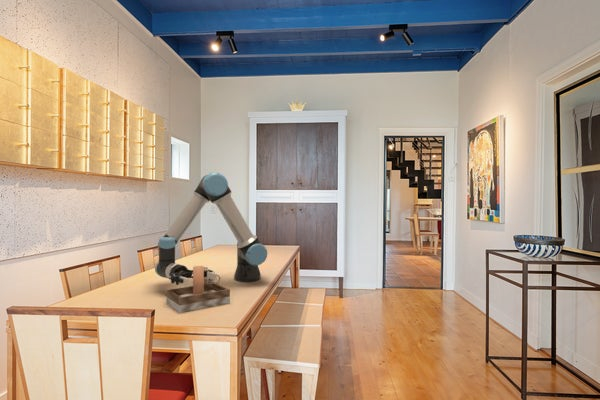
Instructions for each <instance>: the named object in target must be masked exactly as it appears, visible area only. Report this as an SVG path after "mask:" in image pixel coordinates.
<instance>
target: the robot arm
mask: <svg viewBox="0 0 600 400" xmlns="http://www.w3.org/2000/svg"><path fill="white" fill-rule="evenodd" d="M207 203H211V204H214V205H216V207H217V209H218V210H219V212H220V213H221V216H222V217H223V219H224V221H225V222H226V224H227V226H228V228H229V229H230V231H231V232H232V234H233V235H234V238H235V239H236V241H237V243H236V254H237V255H236V256H237V257H236V260H237V261H236V262H237V263H236V269H235V272H234V274H233V279H234V281H237V282H246V283H247V282H255V281H259V280H261V278H262V274H261V271H260V268H259V266H260V265H262V264H263V263H264V262H266V260H267V257H268V250H267V247H265V245H264V244H262V242H261V240H260V239H259V237H258V235H254V234H253V232H252V230H251V229H250V227H249V225H248V224H247V222H246V220H245V219H244V216H243V215H242V214H241V213H242V212H241V211H240V210H239V208H238V207H237V205H236V203H235V201H234V199H233V198H232V190H231V187H229V183H228V179H227V178H226V176H225V175H224V174H222V173H220V172H209V173H208V174H206V175H204V176H203V177H202V178H201V180H200V181H199V183H198V184H197V187H195V190H194V191H193V195H192V197H191V198H190V200H189V201H188V202H187V204H186V205H185V207H183V209H182V211H181V212H180V214H179V215H178V216H177V218H176V219H175V220H174V221H173V223H172V224H171V226H170V227H169V229H168V230H167V231H166V233H165V234H164V236H163V237H160V238H159V239H158V243H157V250H158V262H157V263H156V265H155V267H154V271H155V273H156V275H158V276H159V277H162V278H165V279H169V280H170V284H171V285H172V284H175V285H176V286H178V285H179V284H182V285H184V286H186V287H189V286H190V279H193V269H188V267H187V266H185V265H183V264H179V263H176V245H177V244H178V242H179V241H180V239H181V238H182V236H183V235H184V234H185V233H186V231H187V230H188V228H189V227H190V226H191V224H192V223H193V222H194V220H195V218H196V217H197V216H198V215H199V213H200V212H201V211H202V209H203V208H204V206H205V205H206V204H207ZM210 270H211V271H210ZM210 270H204V277H207V278H210V279H213V280H214V281H217V278H218V276H217V275H218V273H216V272H215V273H212V271H213V270H212V269H210Z"/></svg>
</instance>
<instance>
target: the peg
mask: <svg viewBox="0 0 600 400" xmlns="http://www.w3.org/2000/svg"><path fill="white" fill-rule="evenodd" d="M204 267H205V266H204V265H194V266H192V270H193V274H192V276H193V278H192V280H193V281H192V286H193V295H197V294H203V293H204Z"/></svg>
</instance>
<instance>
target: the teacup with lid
mask: <svg viewBox="0 0 600 400" xmlns="http://www.w3.org/2000/svg"><path fill="white" fill-rule="evenodd" d="M204 270H210V271H211V270H212V269H211V268H209V267H208V266H204ZM212 273H216V272H215V270H212ZM217 278H218V281H217V282H215V280H213V279H210V278H207V277H204V284H209V283H216V284H218V285H219V283H220V282H221V279H222V277H221V276H220V275H219V274H217Z"/></svg>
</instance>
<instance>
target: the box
mask: <svg viewBox="0 0 600 400" xmlns="http://www.w3.org/2000/svg"><path fill="white" fill-rule="evenodd" d="M216 283H217V282H214V283H209V284H204V293H203V294H197V295H193V285H188V286H184V287H177V288H172V289H171V288H170V289H166V304H167V306H169V307H170V308H172V309H173V310H174V311H176V312H177V313H178V314H183V313H188V312H193V311H197V310H203V309H207V308H213V307H219V306H222V305H229V304H230V303H231V290H230V288H227V287H226V286H223V285H221V284H219V283H218V284H216Z"/></svg>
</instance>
